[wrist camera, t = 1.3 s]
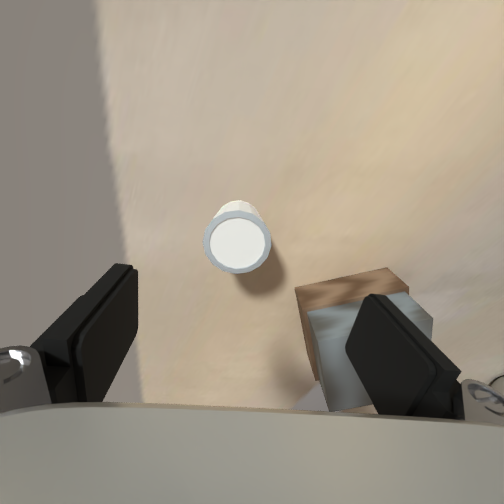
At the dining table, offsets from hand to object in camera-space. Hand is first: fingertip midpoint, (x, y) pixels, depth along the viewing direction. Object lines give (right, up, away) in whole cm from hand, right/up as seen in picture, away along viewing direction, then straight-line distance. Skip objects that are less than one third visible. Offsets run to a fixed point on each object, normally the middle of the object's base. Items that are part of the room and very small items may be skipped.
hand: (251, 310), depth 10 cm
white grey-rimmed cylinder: (-2, +6, +21) cm, 22 cm away
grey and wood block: (+14, -7, +28) cm, 32 cm away
